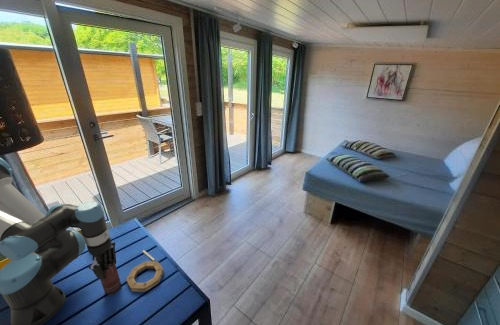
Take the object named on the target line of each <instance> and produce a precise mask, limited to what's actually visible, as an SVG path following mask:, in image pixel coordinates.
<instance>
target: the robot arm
mask: <svg viewBox="0 0 500 325" xmlns="http://www.w3.org/2000/svg"><path fill="white" fill-rule="evenodd" d="M12 176H13V169H12V168H11V166H10V164H9V163H8V162H7V161H6V160H5V159H3V158H1V157H0V254H1V255H3V256H4V257H5V258H6V259H8V260H10V261H9V262H7V263H6V264H5V265H3V267H2V268H0V295H1V296H2V297H3V299H4V300H5V302H6V303H7V305H8V307H9V309H10V318H9V319H10V320H9V322H10V325H45V323H47V322H48V321H50V320H51V319H52V318H54V317H55V316H56V315H57V314H58V313H59V312H60V311H61V310H62V308H63V306H64V305H65V303H66V295H65V292H64V290H63V289H61V288H60V287H58V286H57V285H55V284H54V283H53V282H52V279H54V278H55V276H57V275H58V274H59V273H61V271H63V270H64V269H65V268H66V267H67V266H69V265H70V264H71V263H72V262H74V261H75V260H76V259H78V257H79V256H80V255H82V254H83V253H84V252H85V250H86V248H87V252H88V253H89V254H90V255H91V256H92V258H91V260H92V263H91V264H89V266H88V269H89V270H91V271H92V272H93V274H94V275H95V276H96V278H97V279H98V280H100V279H106V275H105V273H104V272H103V270H107V268H108V266H107V264H111V263H112V260H113V261H114V262H115V265H116V264H117V256H116V254H117V253H116V242H115V241H112V238H111V236H110V233H109V229H108V226H107V224H108V223H107V221H106V219H105V218H106V217H105V214H104V210H103V208H102V206H101V203H99V202H98V201H86V202H82V203H81V204H79V205H73V204H70V203H57V204H55V205H52V206H51V207H50V208H49V209H48V210H47V211H46V213H45V214H46V215H45V214H44V213H42V212H41V211H40V209H38V208H37V207H36V206H35V205H34V204H33V203H32V202H31V201H30V200H29V199H28V198H27V197H25V195H23V194H22V193H21V192H20V191H19V190H18V189H17V188H16V187H15V186H14V185H13V184H12V183H13V179H14V178H12ZM69 228H70V229H69ZM73 228H75V229H73ZM76 229H80V230H81V233H82V234H81V233H80V232H79V231H78V230H76Z"/></svg>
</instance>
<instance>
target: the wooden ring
mask: <svg viewBox="0 0 500 325" xmlns="http://www.w3.org/2000/svg"><path fill="white" fill-rule="evenodd" d="M147 269H148V270H149V269H153V270H155V274H154V276H153V277H152V278H151V279H149V280H147V281H145V282H137V281H136V280H135V279H136V278H137V276H138V274H139V273H141V272H143V271H145V270H147ZM163 275H164V268H163V266H162V265H161V263H160V262H159V261H156V260H155V261H153V260H146V261H144V262H142V263H140V264H138V265H136V266H134V267H133V268H132V269H131V271H130V272H129V274H128V276H127V278H126V283H127V285H128V288H129V289H130V291H131V292H137V293H138V292H140V293H141V292H142V293H143V292H144V293H145V292H147V291H149V290H151V289H152V288H154V287H155V286H156V285H158V284H159V283H160V282H161V279H162V277H163Z"/></svg>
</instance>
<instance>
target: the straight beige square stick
mask: <svg viewBox="0 0 500 325" xmlns="http://www.w3.org/2000/svg"><path fill="white" fill-rule="evenodd" d="M142 253H143V254H144V255H146V256H147V257H148V258H149V259H150V261H156V259H155V258H154V257H153V256H152V255H151V254H149V253H148V252H147V251H146V250H144V249H143V250H142Z"/></svg>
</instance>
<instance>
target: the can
mask: <svg viewBox="0 0 500 325" xmlns="http://www.w3.org/2000/svg"><path fill="white" fill-rule="evenodd" d="M107 266H108V268H107V270H103V272H104V273H105V275H106V279H99V280H100V282H101V286H102V288H103V291H104V294H106V295H108V296H110V295H111V296H112V295H115V293H118V291H119V290H120V289H121V287H122V283H121V278H120V276H119V272H118V271H119V270H118V269H117V265H116V264H115V262H114V261H113V260H112V263H111V264H107Z"/></svg>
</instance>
